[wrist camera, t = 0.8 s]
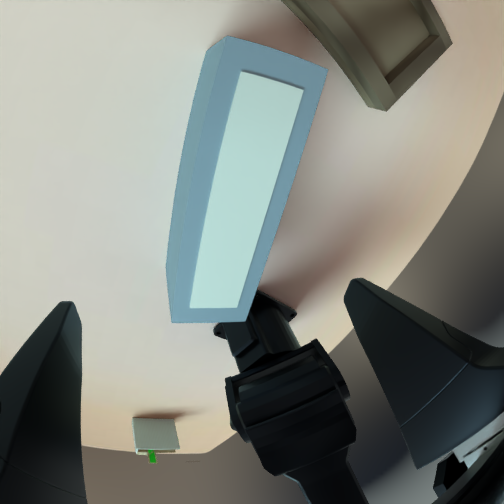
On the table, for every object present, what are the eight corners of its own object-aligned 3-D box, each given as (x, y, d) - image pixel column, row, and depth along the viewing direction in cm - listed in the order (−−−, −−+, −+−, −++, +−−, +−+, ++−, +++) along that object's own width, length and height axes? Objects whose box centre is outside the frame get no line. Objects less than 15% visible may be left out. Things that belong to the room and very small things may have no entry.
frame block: (279, 70, 15) (330, 69, 10) (225, 268, 23) (246, 323, 18) (205, 51, 13) (227, 35, 8) (165, 266, 21) (171, 324, 16)
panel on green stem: (169, 424, 39) (178, 465, 33) (131, 423, 36) (136, 465, 30) (173, 416, 37) (182, 460, 31) (132, 415, 34) (138, 460, 28)
